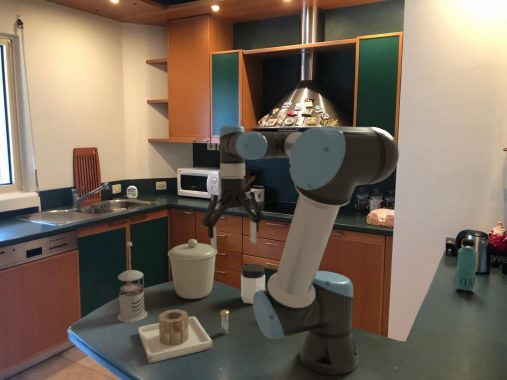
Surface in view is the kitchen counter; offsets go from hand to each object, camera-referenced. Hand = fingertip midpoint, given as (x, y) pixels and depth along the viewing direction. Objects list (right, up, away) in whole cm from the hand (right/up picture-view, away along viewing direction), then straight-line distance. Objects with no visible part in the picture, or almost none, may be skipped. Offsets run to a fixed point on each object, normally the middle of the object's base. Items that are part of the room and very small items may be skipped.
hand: (234, 245), depth 126 cm
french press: (-34, -25, +9) cm, 43 cm away
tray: (-17, -27, -8) cm, 33 cm away
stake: (-3, -26, -4) cm, 26 cm away
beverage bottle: (+86, -21, +28) cm, 93 cm away
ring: (-17, -26, -8) cm, 32 cm away
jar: (+6, -23, +21) cm, 31 cm away
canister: (-16, -22, +26) cm, 38 cm away
